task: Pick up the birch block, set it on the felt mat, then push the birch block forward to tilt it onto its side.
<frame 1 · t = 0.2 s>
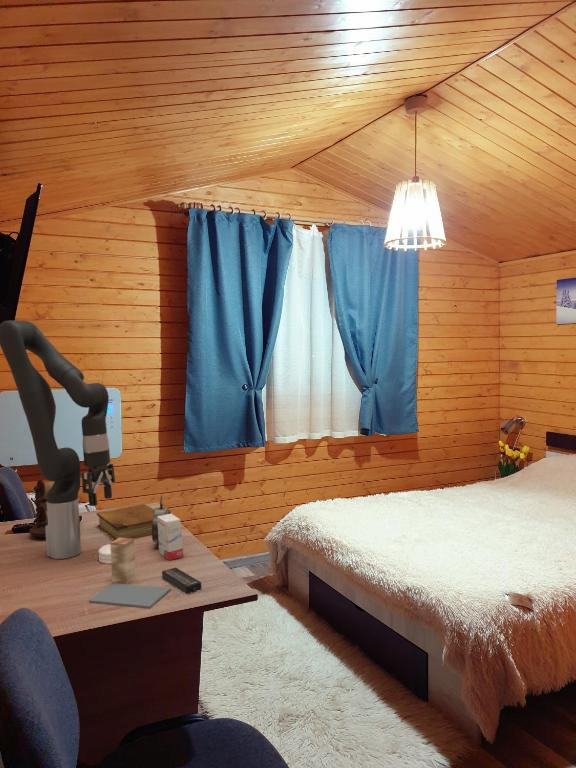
hand: (101, 501, 176), 17 cm above the table, tool pointing down, fingers open, 8 cm apart
ink box: (170, 556, 177), on the table
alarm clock: (163, 545, 187), on the table
multiport hub: (181, 585, 155), on the table
felt mat: (130, 595, 148), on the table
diary: (133, 530, 206), on the table
brown tall piece: (52, 534, 203), on the table
coaster: (116, 559, 176), on the table
birch block: (124, 580, 159), on the table
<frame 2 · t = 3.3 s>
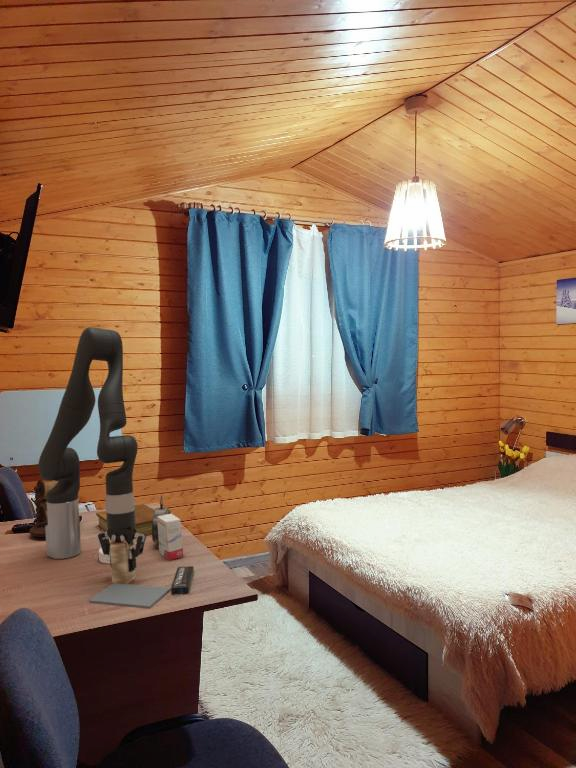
hand: (123, 569, 158), 3 cm above the table, tool pointing down, fingers closed on birch block, 4 cm apart
birch block: (124, 580, 159), on the table, touching gripper
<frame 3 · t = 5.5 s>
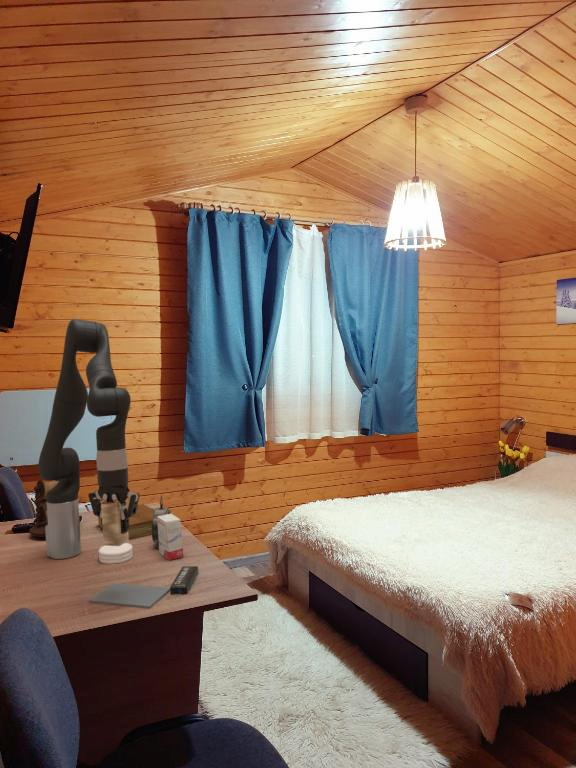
hand: (115, 531, 148), 16 cm above the table, tool pointing down, fingers closed on birch block, 4 cm apart
birch block: (116, 542, 148), point 14 cm above the table, touching gripper
when the fingers open (4 cm above the table, at t = 7.6 s): birch block stays where it is, resting on felt mat.
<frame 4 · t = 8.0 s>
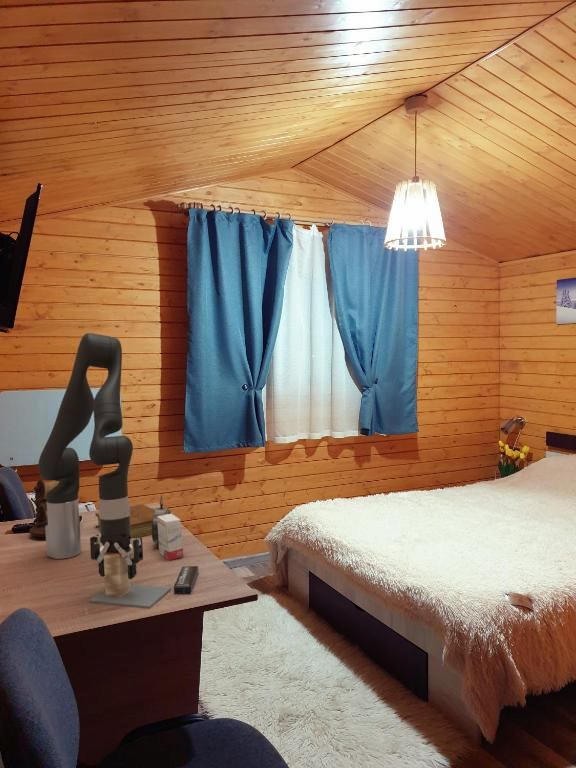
hand: (117, 576, 149), 5 cm above the table, tool pointing down, fingers open, 7 cm apart
birch block: (118, 592, 149), resting on felt mat
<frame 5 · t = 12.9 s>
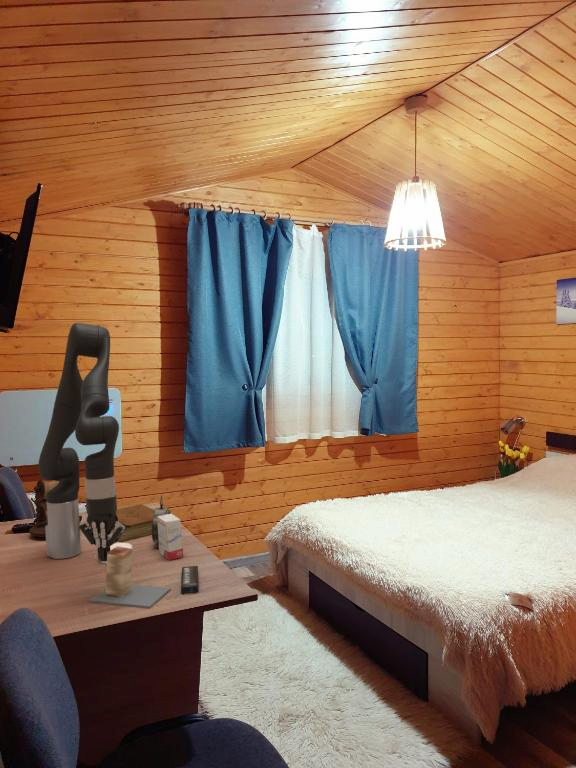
hand: (104, 560, 149), 9 cm above the table, tool pointing down, fingers closed
birch block: (118, 591, 149), point 1 cm above the table, tilted 6°, touching felt mat
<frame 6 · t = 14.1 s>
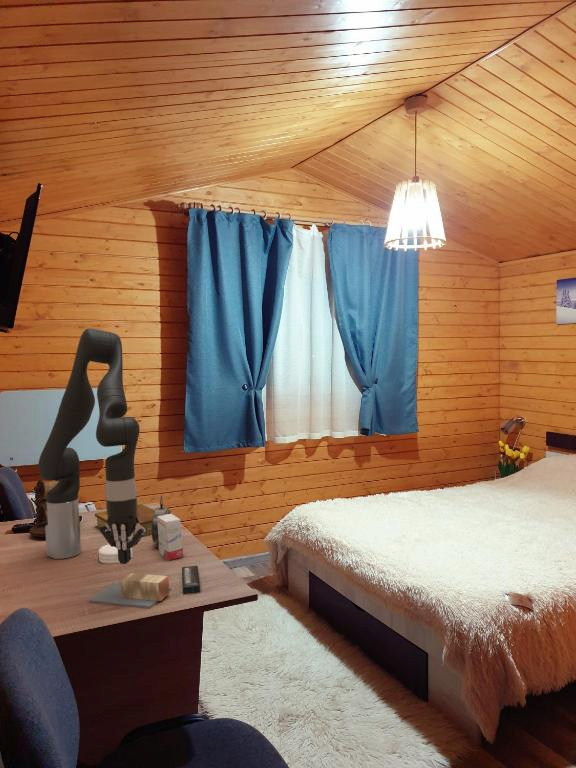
hand: (124, 562, 148), 9 cm above the table, tool pointing down, fingers closed
birch block: (125, 585, 148), point 3 cm above the table, tilted 90°, touching felt mat
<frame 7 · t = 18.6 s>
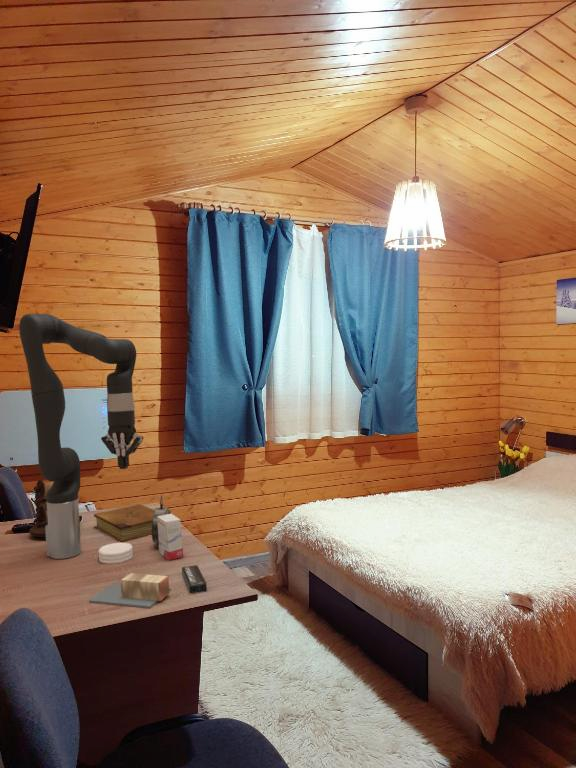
hand: (123, 468, 167), 29 cm above the table, tool pointing down, fingers closed
at the end: birch block tilted 90°; birch block inside the target area (5.8 cm from its centre), point 2.7 cm above the table; the gripper is holding nothing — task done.
